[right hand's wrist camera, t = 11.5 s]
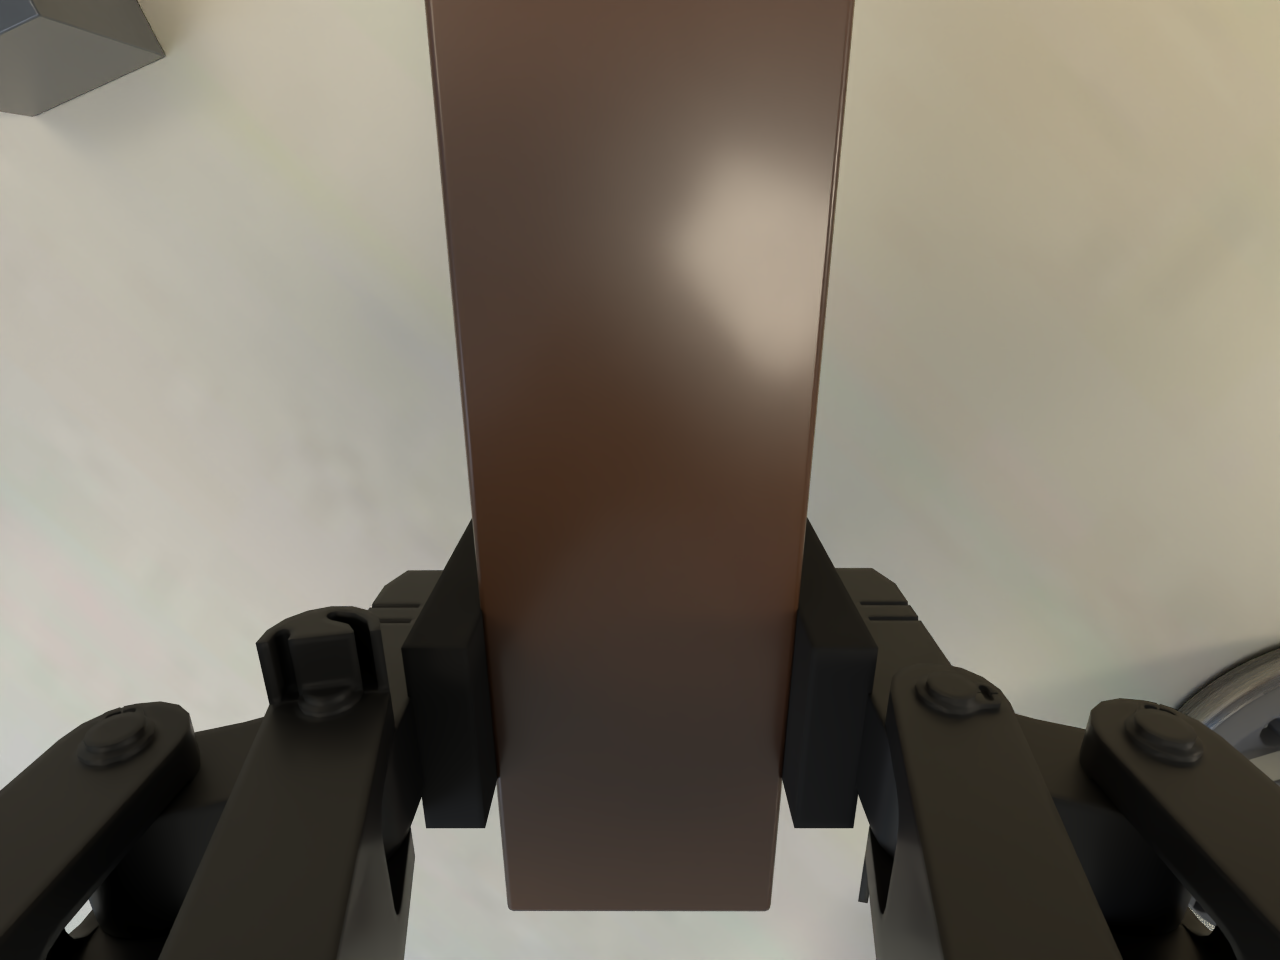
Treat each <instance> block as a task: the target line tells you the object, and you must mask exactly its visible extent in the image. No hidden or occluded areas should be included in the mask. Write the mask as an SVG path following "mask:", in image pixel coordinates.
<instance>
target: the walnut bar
mask: <svg viewBox="0 0 1280 960" xmlns="http://www.w3.org/2000/svg"><path fill="white" fill-rule="evenodd" d="M854 6H855V0H425V10H426V21H427V32H428V43H429V54H430V64H431V75H432V86H433V97H434V108H435V119H436V130H437V141H438V152H439V162H440V173H441V184H442V195H443V206H444V217H445V228H446V239H447V250H448V261H449V271H450V282H451V293H452V304H453V315H454V326H455V337H456V348H457V359H458V369H459V380H460V391H461V402H462V413H463V424H464V435H465V446H466V457H467V467H468V478H469V489H470V500H471V511H472V522H473V533H474V544H475V555H476V566H477V576H478V587H479V598H480V608H481V610H482V619H483V630H484V640H485V651H486V662H487V673H488V684H489V695H490V706H491V716H492V727H493V738H494V749H495V760H496V771H497V782H496V783H497V794H498V805H499V816H500V827H501V838H502V849H503V860H504V871H505V881H506V892H507V903H508V907H509V909H510V910H513V911H767V910H769V908H770V905H771V896H772V885H773V874H774V863H775V853H776V842H777V831H778V820H779V810H780V799H781V788H782V772H783V762H784V751H785V740H786V729H787V718H788V707H789V697H790V686H791V675H792V664H793V653H794V643H795V632H796V621H797V610H798V606H799V595H800V585H801V574H802V563H803V552H804V542H805V531H806V520H807V510H808V499H809V488H810V477H811V467H812V456H813V445H814V435H815V424H816V413H817V402H818V392H819V381H820V370H821V360H822V349H823V338H824V327H825V317H826V306H827V295H828V284H829V274H830V263H831V252H832V242H833V231H834V220H835V209H836V199H837V188H838V177H839V167H840V156H841V145H842V134H843V124H844V113H845V102H846V92H847V81H848V70H849V59H850V49H851V38H852V27H853V16H854Z"/></svg>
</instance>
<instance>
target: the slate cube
mask: <svg viewBox="0 0 1280 960" xmlns="http://www.w3.org/2000/svg"><path fill="white" fill-rule="evenodd" d="M164 56H165V54H164V52H163V50H162V48H161V47H160V45H159V43H158V41H157V39H156V37H155V35H154V33H153V31H152V29H151V27H150V26H149V24H148V22H147V20H146V18H145V16H144V14H143V12H142V10H141V8H140V7H139V5H138V3H137V1H136V0H0V112H6V113H12V114H18V115H25V116H31V117H33V116H36V115H38V114H40V113H42V112H44V111H46V110H49V109H51V108H53V107H55V106H57V105H60V104H62V103H64V102H66V101H68V100H71V99H73V98H75V97H77V96H79V95H81V94H84V93H86V92H88V91H90V90H92V89H95V88H97V87H99V86H101V85H103V84H106V83H108V82H110V81H112V80H114V79H117V78H119V77H121V76H123V75H125V74H127V73H130V72H132V71H134V70H136V69H138V68H141V67H143V66H145V65H147V64H149V63H152V62H154V61H156V60H158V59H160V58H163V57H164Z"/></svg>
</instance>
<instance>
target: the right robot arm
mask: <svg viewBox="0 0 1280 960" xmlns="http://www.w3.org/2000/svg"><path fill="white" fill-rule="evenodd" d="M256 646H257V651H258V655H259V660H260V664H261V669H262V673H263V678H264V682H265V686H266V691H267V695H268V700H269V704H270V705H269V707H268V709H267V711H266V714H265V716H264V717H262V718H258V719H254V720H251V721H247V722H243V723H238V724H233V725H228V726H224V727H219V728H214V729H209V730H204V731H199V732H195V733H194V729H193V726H192V722H191V718H190V715H189V713H188V712H187V711H186V710H184V709H183V708H182V707H181V706H180V705H177V704H171V703H166V702H150V703H139V704H133V705H128V706H124V707H123V708H117V709H114V710H111V711H108V712H106V713H104V714H102V715H100V716H98V717H96V718H94V719H92V720H89V721H87V722H85V723H83V724H81V725H80V726H78V727H77V728H75V729H74V730H73V731H71V732H70V733H68V734H67V735H65V736H64V737H62V738H61V739H60V740H58V741H57V742H56V743H55V744H54V745H53V746H51V747H50V748H49V749H48V750H47V751H46V752H44V753H43V754H42V755H41V756H40V757H39V758H38V759H36V760H35V761H34V762H33V763H32V764H31V765H29V766H28V767H27V768H26V769H25V770H24V771H23V772H21V773H20V774H19V775H18V776H17V777H16V778H14V779H13V780H12V781H11V782H10V783H9V784H8V785H6V786H5V787H4V788H3V789H2V790H1V791H0V960H404V953H405V944H406V935H407V926H408V916H409V907H410V898H411V889H412V880H413V870H414V861H415V853H414V846H413V840H412V833H411V824H412V821H413V819H414V816H415V813H416V811H417V808H418V805H419V802H420V800H421V797H422V801H423V809H424V816H425V823H426V828H485V826H486V822H487V818H488V814H489V810H490V806H491V802H492V798H493V794H494V790H495V786H496V782H497V771H496V760H495V749H494V738H493V727H492V716H491V706H490V695H489V684H488V673H487V662H486V651H485V640H484V630H483V619H482V610H481V608H480V598H479V587H478V576H477V566H476V555H475V544H474V533H473V522H472V519H471V521H470V523H469V524H468V526H467V528H466V530H465V532H464V534H463V535H462V537H461V539H460V541H459V543H458V545H457V546H456V548H455V550H454V552H453V554H452V556H451V557H450V559H449V561H448V563H447V565H446V567H445V568H444V570H408V571H406V572H405V573H403V574H402V575H400V576H399V577H397V578H396V579H394V580H393V581H391V582H390V583H388V584H387V585H385V586H384V588H383V589H382V590H381V592H380V593H379V595H378V596H377V598H376V599H375V601H374V602H373V604H372V608H369V610H365V609H361V608H357V607H353V606H331V607H325V608H320V609H315V610H309V611H306V612H303V613H300V614H298V615H295V616H292V617H289V618H287V619H285V620H283V621H281V622H280V623H278V624H276V625H275V626H273V627H272V628H270V629H268V630H267V631H266V632H265V633H264V634H263V635H262V637H261V638H260V639H259V640H258V641H257V642H256ZM782 780H783V784H784V788H785V792H786V796H787V800H788V804H789V808H790V812H791V816H792V820H793V824H794V828H853V826H854V819H855V812H856V805H857V798H858V795H859V798H860V800H861V803H862V806H863V808H864V811H865V814H866V816H867V819H868V822H869V824H870V826H869V833H868V840H867V846H866V853H865V859H864V866H863V873H862V879H861V886H860V893H859V900H858V902H864V903H868V898H869V896H870V906H871V915H872V924H873V933H874V942H875V952H876V960H1280V648H1279V649H1276V650H1274V651H1271V652H1268V653H1266V654H1264V655H1261V656H1259V657H1256V658H1254V659H1252V660H1250V661H1248V662H1246V663H1244V664H1242V665H1240V666H1238V667H1236V668H1234V669H1232V670H1231V671H1229V672H1227V673H1226V674H1224V675H1222V676H1221V677H1219V678H1217V679H1216V680H1215V681H1213V682H1212V683H1210V684H1209V685H1207V686H1206V687H1205V688H1203V689H1202V690H1201V691H1199V692H1198V693H1197V694H1196V695H1194V696H1193V697H1192V698H1191V699H1189V700H1188V701H1187V702H1186V703H1185V704H1184V705H1183V706H1182V707H1181V708H1180V709H1179V710H1178V711H1177V710H1175V709H1173V708H1171V707H1168V706H1164V705H1161V704H1160V705H1158V704H1157V703H1154V702H1149V701H1144V700H1133V699H1122V698H1119V699H1113V700H1108V701H1102V702H1100V703H1099V704H1098V705H1097V706H1096V707H1094V708H1093V709H1092V710H1091V712H1090V716H1089V720H1088V723H1087V727H1086V729H1081V728H1076V727H1071V726H1066V725H1062V724H1057V723H1052V722H1047V721H1042V720H1037V719H1033V718H1029V717H1026V716H1022V715H1018V714H1015V713H1014V710H1013V708H1012V706H1011V704H1010V702H1009V701H1008V700H1007V698H1006V697H1005V695H1004V694H1003V693H1002V691H1001V690H1000V689H999V688H997V687H996V686H994V685H993V684H992V683H990V682H989V681H987V680H986V679H985V678H983V677H981V676H979V675H977V674H974V673H972V672H970V671H967V670H965V669H962V668H959V667H954V666H951V664H950V663H949V661H948V660H947V658H946V657H945V655H944V654H943V652H942V651H941V650H940V648H939V647H938V645H937V644H936V642H935V641H934V639H933V638H932V636H931V635H930V633H929V632H928V631H927V629H926V628H925V626H924V625H923V623H922V622H921V621H918V616H917V615H916V613H915V612H914V610H913V609H912V607H911V606H910V605H908V601H907V600H906V598H905V597H904V596H903V594H902V593H901V591H900V590H899V588H898V587H897V585H896V584H895V583H894V582H892V581H891V580H889V579H888V578H886V577H885V576H883V575H882V574H880V573H879V572H877V571H876V570H874V569H873V568H835V567H834V566H833V564H832V562H831V560H830V558H829V556H828V555H827V553H826V551H825V549H824V547H823V545H822V544H821V542H820V540H819V538H818V536H817V534H816V533H815V531H814V529H813V527H812V525H811V523H810V522H809V520H808V518H807V520H806V531H805V542H804V552H803V563H802V574H801V585H800V595H799V606H798V610H797V621H796V632H795V643H794V653H793V664H792V675H791V686H790V697H789V707H788V718H787V729H786V740H785V751H784V762H783V772H782ZM88 899H89V901H90V904H91V907H92V911H91V912H90V913H89V914H88V916H87V917H86V918H85V919H84V920H83V922H82V923H81V924H80V925H79V926H78V927H76V928H75V929H74V930H73V931H72V932H71V933H70V934H68V933H67V932H66V931H65V927H66V925H67V924H68V923H69V922H70V921H71V919H72V918H73V917H74V916H75V915H76V913H77V912H78V911H79V910H80V909H81V908H82V906H83V905H84V904H85V903H86V902H87V900H88ZM1190 908H1191V909H1192V910H1193V911H1194V912H1195V913H1197V914H1198V915H1199V916H1201V917H1202V918H1203V919H1205V920H1206V921H1208V922H1209V923H1211V924H1212V925H1214V926H1215V929H1214V930H1213V931H1210V930H1209V929H1208V928H1207V927H1206V926H1205V925H1204V924H1203V923H1202V922H1201V921H1200V920H1199V919H1198V918H1197V917H1196V916H1195V914H1194V913H1193V912H1192V911H1191V910H1190Z"/></svg>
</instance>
